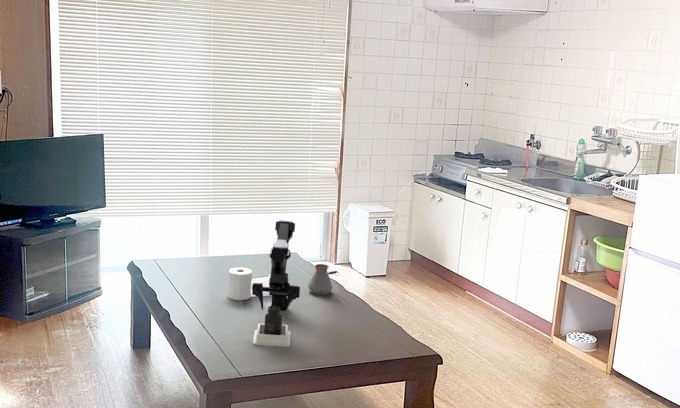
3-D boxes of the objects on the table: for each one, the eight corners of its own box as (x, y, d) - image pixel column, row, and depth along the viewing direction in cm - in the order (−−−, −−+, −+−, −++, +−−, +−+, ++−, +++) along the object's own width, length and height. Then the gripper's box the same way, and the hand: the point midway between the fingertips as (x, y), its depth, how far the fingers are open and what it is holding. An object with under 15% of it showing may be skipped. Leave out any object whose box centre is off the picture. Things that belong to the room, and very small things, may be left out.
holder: (252, 344, 276) (253, 335, 275) (254, 330, 290) (255, 322, 289) (289, 346, 277) (290, 337, 276) (290, 332, 291) (290, 324, 290)
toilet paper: (235, 301, 320) (237, 275, 318) (223, 294, 328) (224, 269, 325) (255, 298, 327) (256, 272, 324) (242, 291, 334) (243, 266, 332)
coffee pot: (303, 289, 344) (305, 258, 341) (325, 287, 349) (327, 257, 346) (323, 304, 326) (325, 272, 323) (346, 302, 331) (348, 270, 328)
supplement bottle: (284, 337, 283) (286, 308, 281) (271, 341, 279) (273, 312, 276) (273, 332, 288) (275, 303, 286) (260, 335, 283) (261, 306, 281)
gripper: (253, 263, 285) (249, 299, 277) (301, 266, 286) (298, 303, 278) (254, 276, 295) (250, 311, 286) (300, 279, 295) (297, 315, 287)
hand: (274, 310), depth 284 cm, fingers open, 9 cm apart
